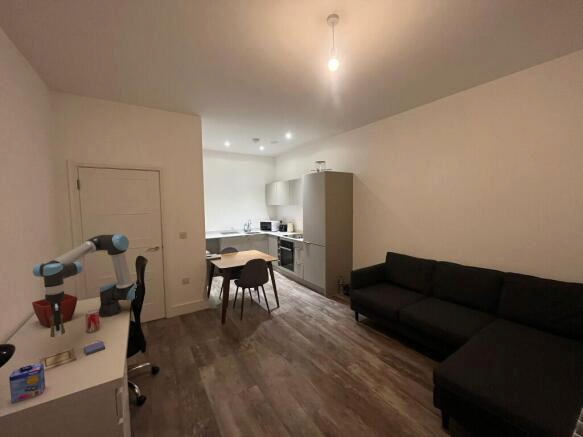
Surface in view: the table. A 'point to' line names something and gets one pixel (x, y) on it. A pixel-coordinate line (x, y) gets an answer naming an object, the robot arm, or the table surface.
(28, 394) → the ink cartridge box
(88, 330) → the soda can
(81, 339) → the table surface
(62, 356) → the board
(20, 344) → the table surface
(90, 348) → the ink pad
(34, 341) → the table surface
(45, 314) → the plant pot
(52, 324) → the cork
